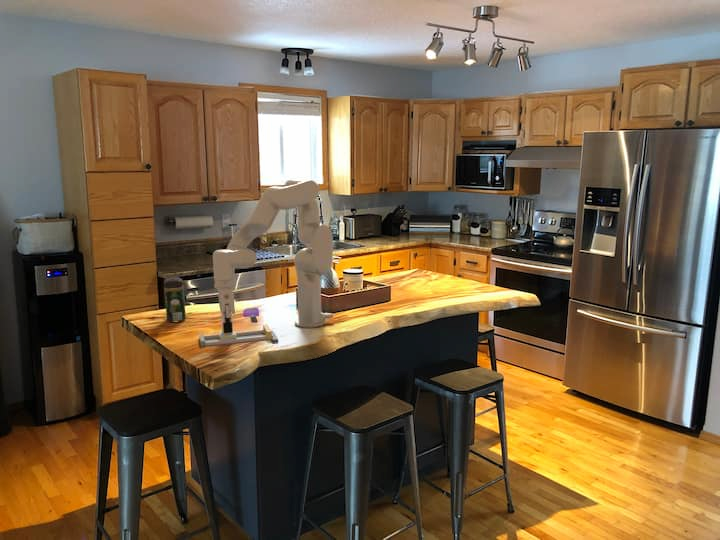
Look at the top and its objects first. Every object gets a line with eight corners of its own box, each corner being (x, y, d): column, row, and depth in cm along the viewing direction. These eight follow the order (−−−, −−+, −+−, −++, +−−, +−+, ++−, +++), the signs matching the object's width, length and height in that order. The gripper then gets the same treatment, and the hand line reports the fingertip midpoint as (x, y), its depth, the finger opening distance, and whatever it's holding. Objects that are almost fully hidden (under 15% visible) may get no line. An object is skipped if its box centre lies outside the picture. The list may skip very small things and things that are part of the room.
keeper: (235, 335, 225) (233, 312, 224) (236, 340, 219) (235, 316, 218) (219, 337, 224) (217, 313, 222) (220, 342, 218) (219, 317, 216)
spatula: (264, 327, 243) (263, 321, 242) (247, 328, 241) (247, 322, 240) (258, 312, 265) (258, 307, 265) (242, 313, 264) (242, 308, 263)
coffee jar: (167, 317, 257) (164, 276, 254) (186, 316, 259) (183, 274, 256) (165, 323, 248) (162, 280, 245) (185, 322, 250) (182, 279, 247)
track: (272, 333, 233) (272, 323, 232) (278, 342, 221) (277, 331, 221) (199, 340, 224) (198, 330, 224) (201, 350, 213) (200, 339, 212)
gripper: (237, 287, 211) (240, 336, 214) (232, 278, 226) (235, 324, 230) (216, 288, 208) (219, 338, 212) (212, 279, 224) (215, 325, 228)
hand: (227, 330), depth 221 cm, fingers closed on keeper, 4 cm apart
